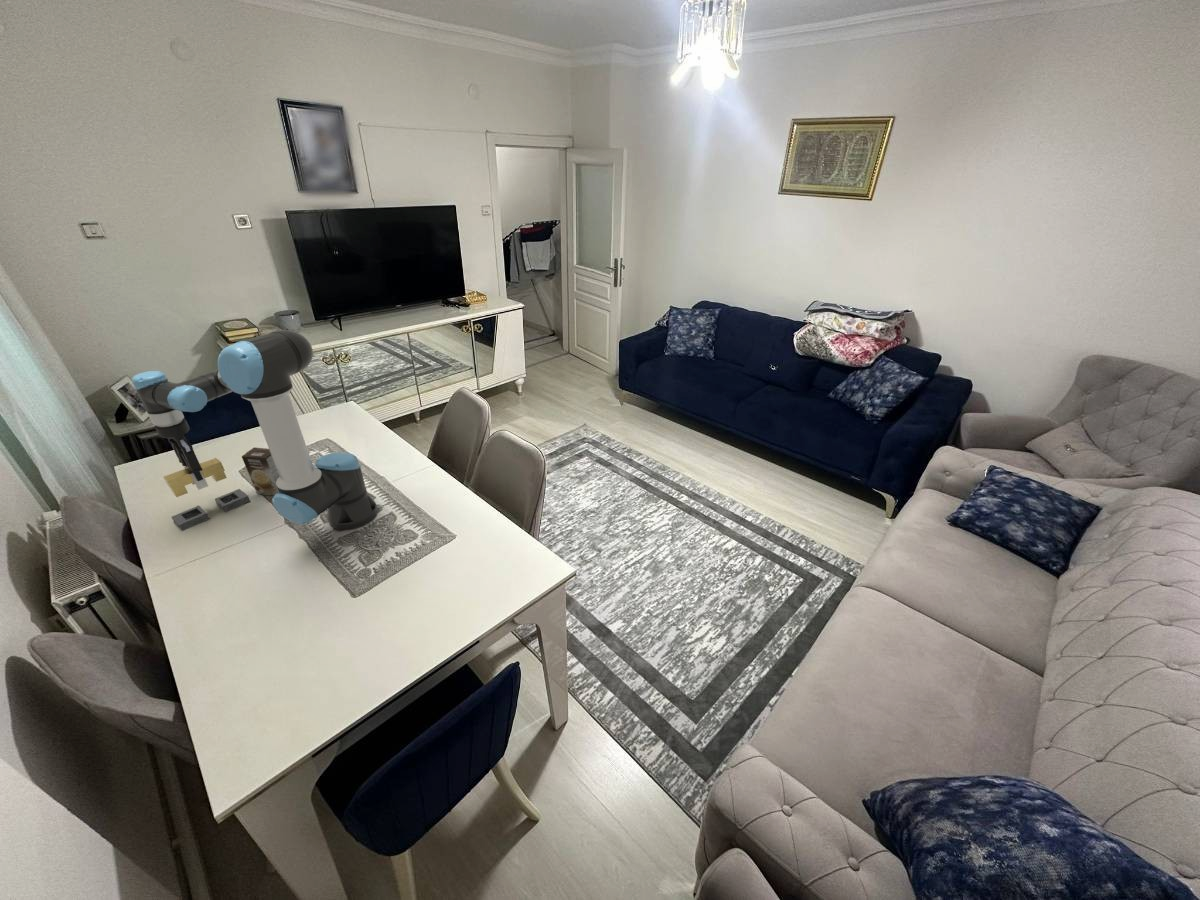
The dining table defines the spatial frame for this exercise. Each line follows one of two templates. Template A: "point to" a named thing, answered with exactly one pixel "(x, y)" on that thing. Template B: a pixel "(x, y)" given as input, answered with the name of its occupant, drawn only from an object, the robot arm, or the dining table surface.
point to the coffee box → (262, 470)
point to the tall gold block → (182, 478)
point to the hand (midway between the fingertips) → (200, 485)
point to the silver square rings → (203, 516)
